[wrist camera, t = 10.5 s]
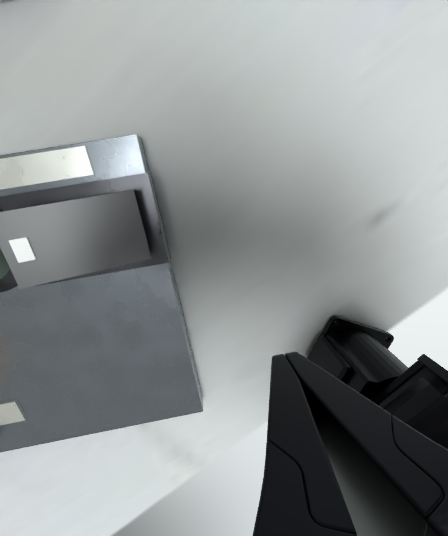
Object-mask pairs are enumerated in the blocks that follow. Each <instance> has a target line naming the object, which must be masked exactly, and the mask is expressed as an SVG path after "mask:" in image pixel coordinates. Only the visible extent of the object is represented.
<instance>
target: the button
mask: <svg viewBox="0 0 448 536" xmlns="http://www.w3.org/2000/svg"><path fill="white" fill-rule="evenodd" d="M9 269H10V267H9V265H8V263H7V261H6V258H5V256H4V254H3V252H2V250H1V248H0V279H1V278H3V277H4V276H5V275H6V274H7V272H8V271H9Z"/></svg>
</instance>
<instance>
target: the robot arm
mask: <svg viewBox="0 0 448 536" xmlns="http://www.w3.org/2000/svg"><path fill="white" fill-rule="evenodd" d="M335 321H337V322H336V323H334V322H335ZM393 339H394V337H393V336H392V335H391V334H390V333H388V332H385V331H382V330H379V329H376V328H373V327H370V326H367V325H364V324H361V323H358V322H354V321H351V320H348V319H345V318H342V317H339V316H333V317H331V318H330V320H329V322H328V323H327V325H326V327H325V329H324V331H323V332H322V334H321V336H320V337H319V339H318V341H317V343H316V345H315V346H314V348H313V350H312V352H311V353H310V355H309V357H308V359H307V358H305V357H304V356H302V355H301V354H299V353H298V352H290V353H286V354H285V355H283V354H280V355H275V356H272V365H271V381H270V397H269V414H268V430H267V444H266V459H265V469H264V478H263V484H262V490H261V496H260V501H259V507H258V512H257V517H256V522H255V527H254V532H253V536H448V371H447V370H445V369H444V368H443V367H441V366H440V365H439V364H437V363H436V362H434V361H433V360H432V359H430V358H429V357H427V356H426V355H425V354H423V355H422V356H420V357H419V358H418V361H417V362H415V363H414V364H413V365H412V366H411V367H409V368H408V367H407V366H405V365H404V364H403V363H402V362H401V361H400V360H399V359H398V358H397V357H396V356H394V355H393V354H392V353H391V352H390V351H389V350H388V348H389V346H390V345H391V343H392V342H393Z"/></svg>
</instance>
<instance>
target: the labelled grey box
mask: <svg viewBox="0 0 448 536" xmlns="http://www.w3.org/2000/svg"><path fill="white" fill-rule="evenodd" d="M0 248H1V250H2V252H3V254H4V256H5V258H6V261H7V263H8V265H9V267H10V269H11V271H12V274H13V276H14V278H15V280H16V282H17V284H18V286H19V289H23V288H27V287H31V286H36V285H40V284H44V283H49V282H53V281H57V280H62V279H66V278H70V277H75V276H79V275H83V274H88V273H92V272H96V271H101V270H105V269H109V268H114V267H118V266H122V265H127V264H131V263H135V262H140V261H144V260H148V259H152V258H151V253H150V249H149V246H148V242H147V238H146V234H145V230H144V227H143V223H142V219H141V215H140V211H139V207H138V204H137V200H136V196H135V192H134V190H128V191H122V192H116V193H110V194H104V195H98V196H92V197H86V198H80V199H74V200H68V201H62V202H56V203H50V204H44V205H38V206H32V207H26V208H20V209H14V210H8V211H2V212H0Z"/></svg>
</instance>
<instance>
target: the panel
mask: <svg viewBox="0 0 448 536" xmlns="http://www.w3.org/2000/svg"><path fill="white" fill-rule="evenodd" d="M128 190H134V192H135V196H136V200H137V204H138V207H139V211H140V215H141V219H142V223H143V227H144V230H145V234H146V238H147V242H148V246H149V249H150V253H151V258H152V259H148V260H144V261H140V262H135V263H131V264H127V265H122V266H118V267H114V268H109V269H105V270H101V271H96V272H92V273H88V274H83V275H79V276H75V277H70V278H66V279H62V280H57V281H53V282H49V283H44V284H40V285H36V286H31V287H27V288H23V289H19V286H18V284H17V282H16V280H15V278H14V276H13V274H12V271H11V269H9V271H8V272H7V274H6V275H5V276H4V277H3V278H1V279H0V452H4V451H9V450H14V449H19V448H24V447H29V446H34V445H39V444H44V443H49V442H54V441H59V440H64V439H69V438H74V437H79V436H83V435H88V434H93V433H98V432H103V431H108V430H113V429H118V428H123V427H128V426H133V425H138V424H143V423H148V422H153V421H158V420H163V419H168V418H173V417H178V416H183V415H188V414H192V413H197V412H202V411H203V397H202V392H201V388H200V384H199V380H198V376H197V371H196V367H195V363H194V359H193V355H192V350H191V346H190V342H189V338H188V333H187V329H186V325H185V321H184V317H183V312H182V308H181V304H180V300H179V295H178V291H177V287H176V283H175V279H174V274H173V270H172V266H171V262H170V254H169V250H168V245H167V241H166V237H165V233H164V228H163V224H162V220H161V216H160V211H159V207H158V203H157V199H156V195H155V190H154V186H153V182H152V178H151V173H149V169H148V165H147V161H146V156H145V152H144V148H143V144H142V139H141V138H140V137H139V136H138V135H136V134H135V135H129V136H122V137H116V138H110V139H103V140H97V141H90V142H84V143H77V144H71V145H65V146H58V147H52V148H45V149H39V150H33V151H26V152H20V153H13V154H7V155H0V212H2V211H8V210H14V209H20V208H26V207H32V206H38V205H44V204H50V203H56V202H62V201H68V200H74V199H80V198H86V197H92V196H98V195H104V194H110V193H116V192H122V191H128Z"/></svg>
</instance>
